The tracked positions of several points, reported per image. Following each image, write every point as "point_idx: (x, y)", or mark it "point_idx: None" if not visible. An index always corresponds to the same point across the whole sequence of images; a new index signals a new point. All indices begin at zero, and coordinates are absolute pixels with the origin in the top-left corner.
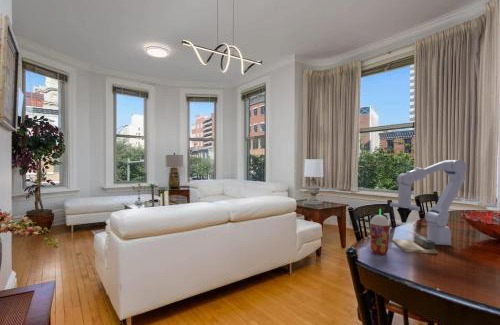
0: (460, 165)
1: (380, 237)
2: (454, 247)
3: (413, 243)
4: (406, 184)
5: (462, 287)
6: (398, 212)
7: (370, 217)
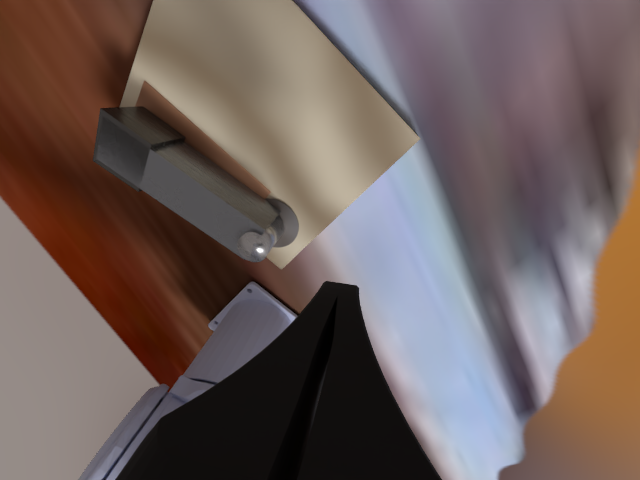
0: None
1: None
2: (190, 306)
3: (264, 167)
4: None
5: None
6: (400, 417)
7: None
